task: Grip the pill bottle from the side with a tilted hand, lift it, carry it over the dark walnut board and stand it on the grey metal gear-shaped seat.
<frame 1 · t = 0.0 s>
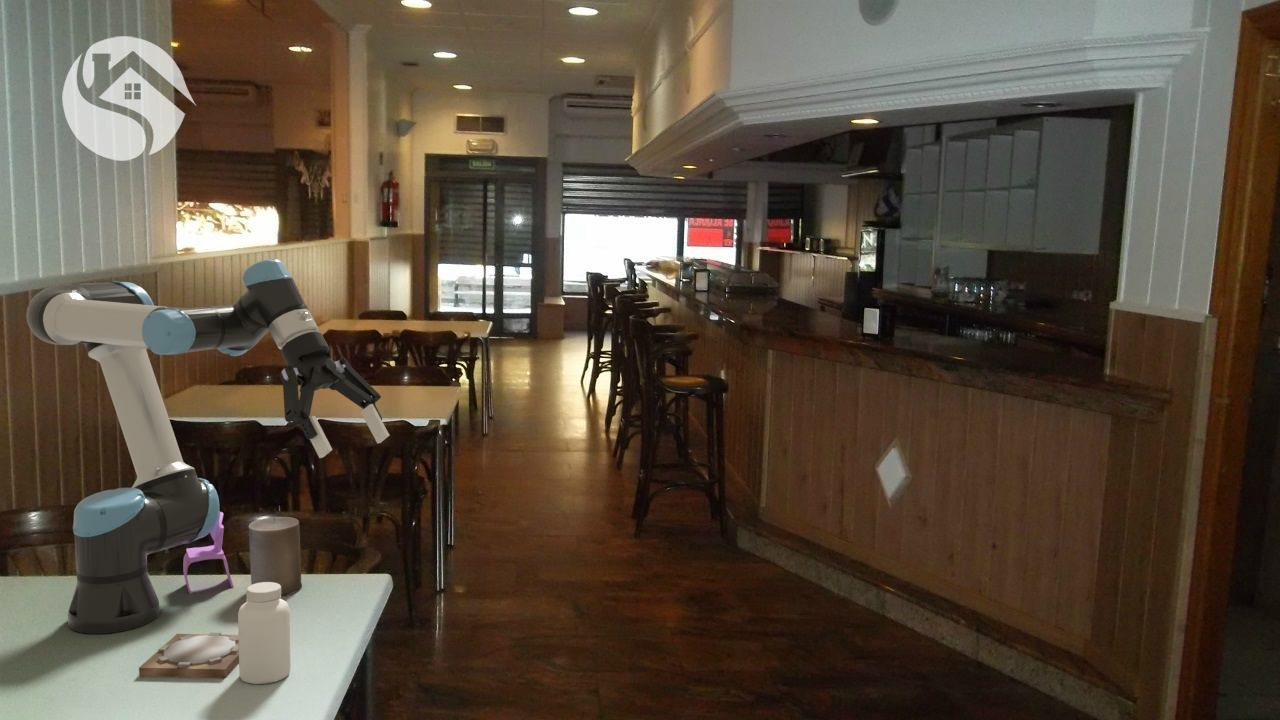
hand: (355, 446, 178), 36 cm above the table, tool tilted 35°, fingers open, 13 cm apart
toy chair: (208, 587, 211), on the table
pill bottle: (265, 676, 171), on the table
pillar candle: (276, 590, 210), on the table
gear board: (200, 659, 177), on the table
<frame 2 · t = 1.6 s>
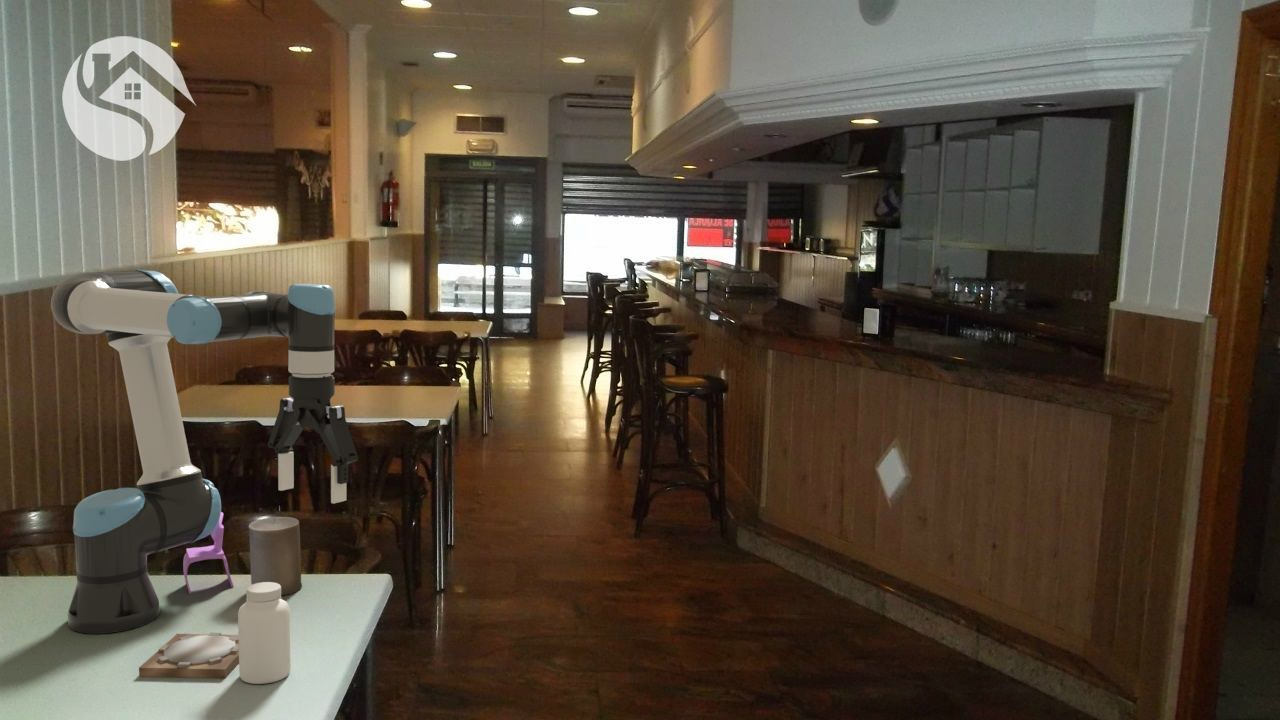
hand: (311, 495, 182), 26 cm above the table, tool pointing down, fingers open, 13 cm apart
nothing on the table moved.
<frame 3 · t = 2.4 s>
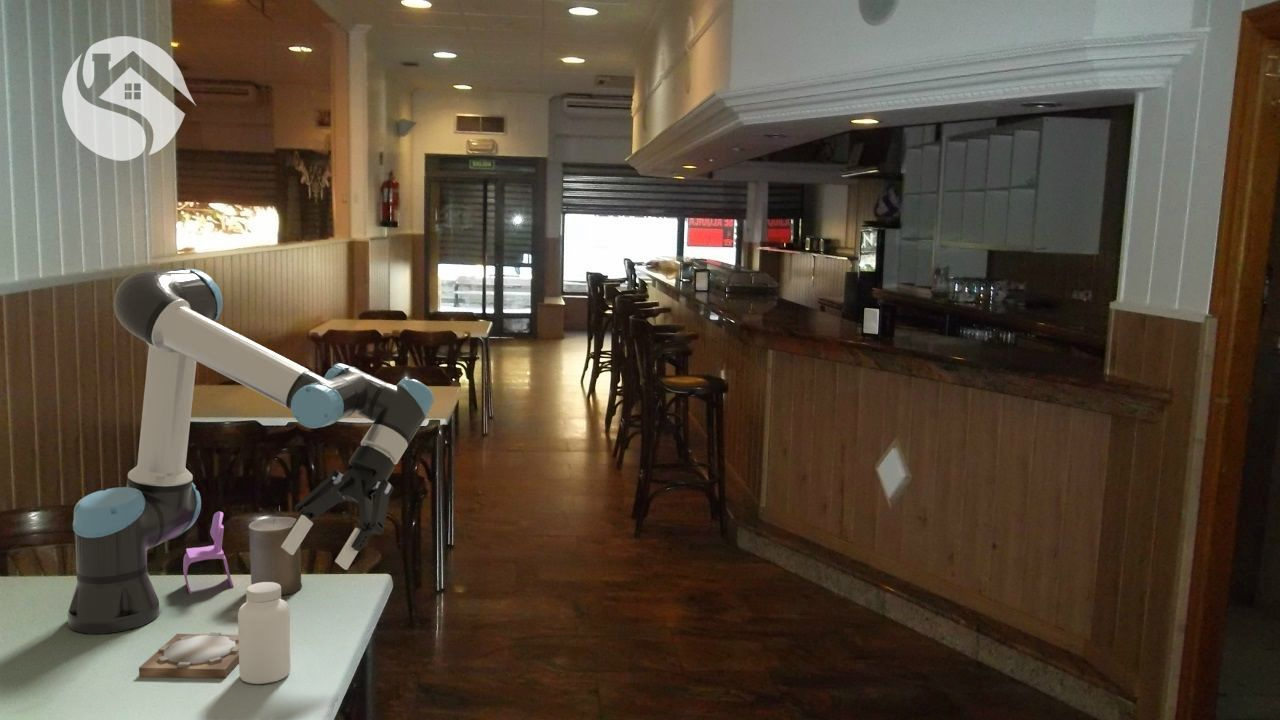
hand: (313, 558, 178), 17 cm above the table, tool tilted 45°, fingers open, 13 cm apart
nothing on the table moved.
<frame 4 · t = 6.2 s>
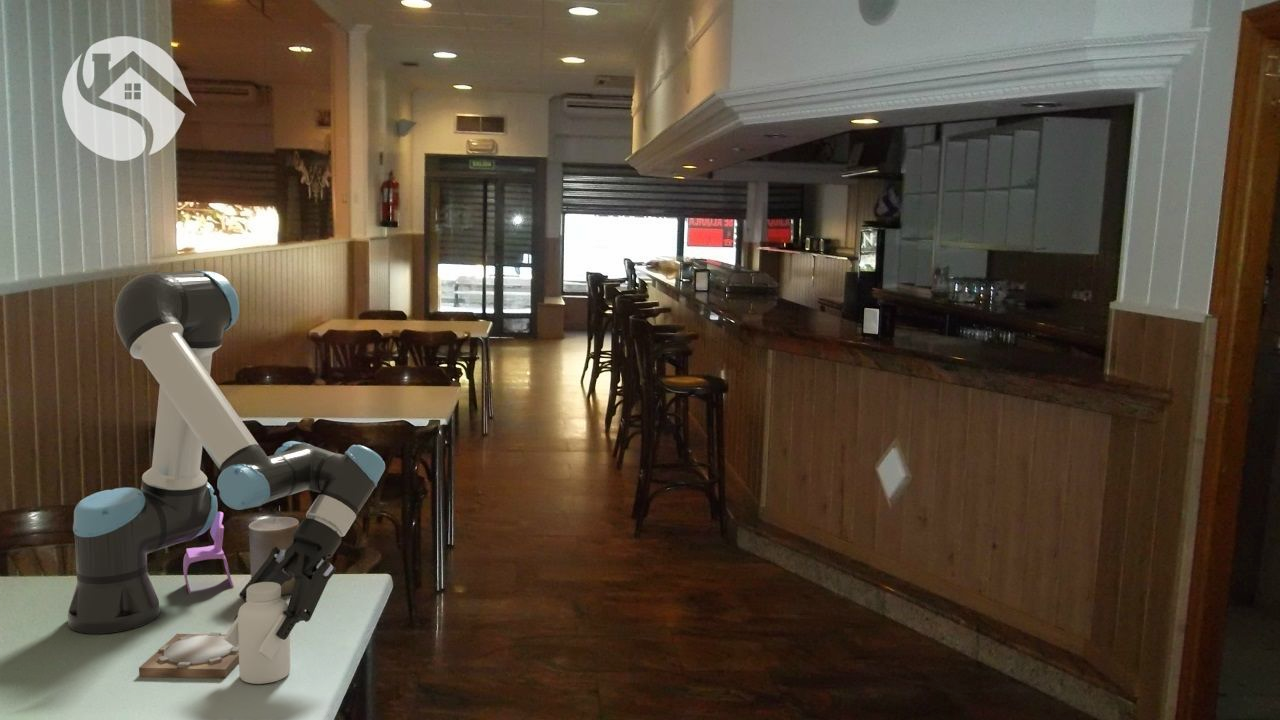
hand: (247, 649, 168), 6 cm above the table, tool tilted 45°, fingers closed on pill bottle, 8 cm apart
pill bottle: (265, 676, 171), on the table, touching gripper
everything else where it was.
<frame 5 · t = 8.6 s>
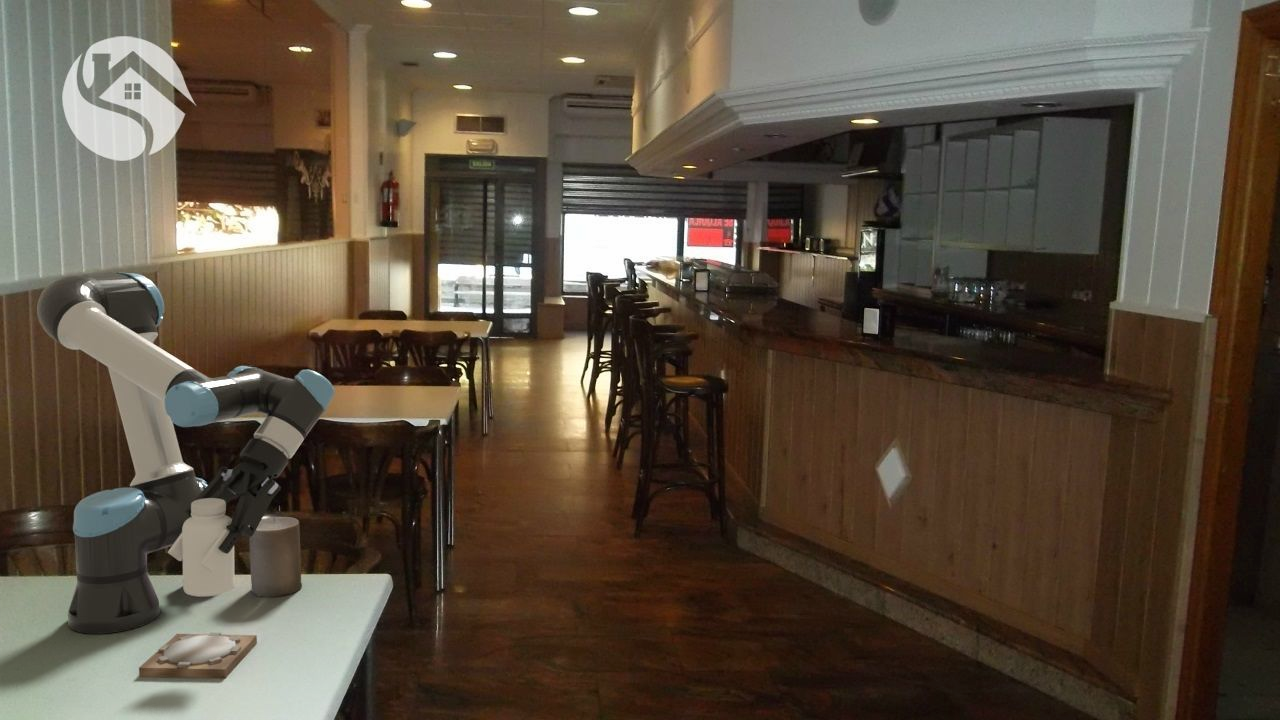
hand: (190, 562, 170), 18 cm above the table, tool tilted 45°, fingers closed on pill bottle, 8 cm apart
pill bottle: (209, 590, 174), point 13 cm above the table, touching gripper
everything else where it was.
when the fingers open (9 cm above the table, at t = 11.2 s): pill bottle stays where it is, resting on gear board.
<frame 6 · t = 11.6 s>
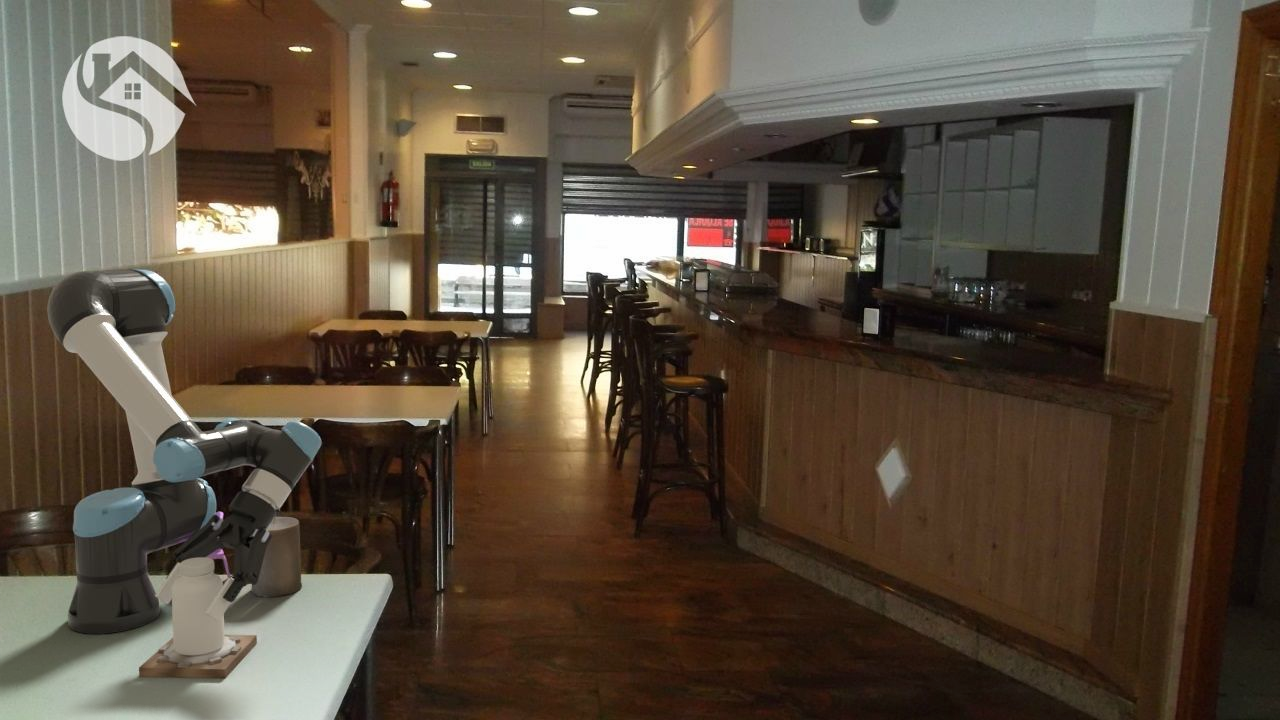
hand: (185, 608, 173), 10 cm above the table, tool tilted 45°, fingers open, 13 cm apart
pill bottle: (199, 648, 177), point 2 cm above the table, touching gear board
everything else where it was.
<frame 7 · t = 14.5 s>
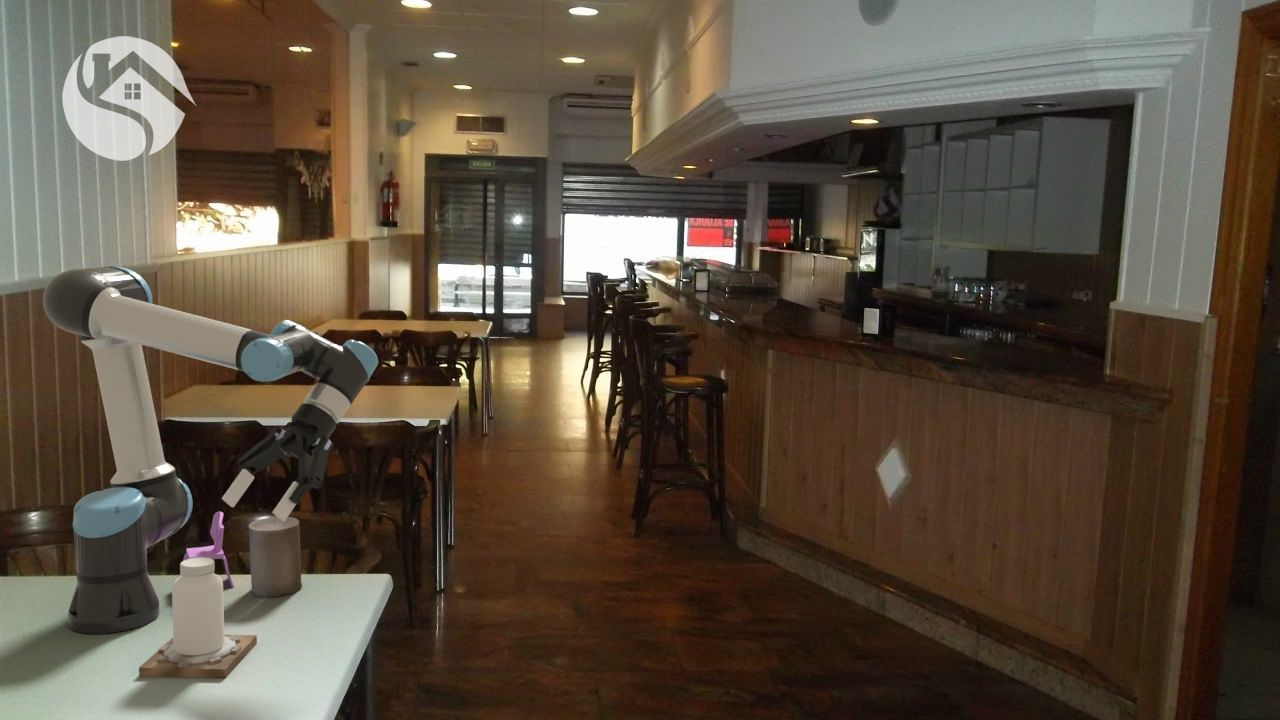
hand: (252, 510, 182), 24 cm above the table, tool tilted 45°, fingers open, 13 cm apart
nothing on the table moved.
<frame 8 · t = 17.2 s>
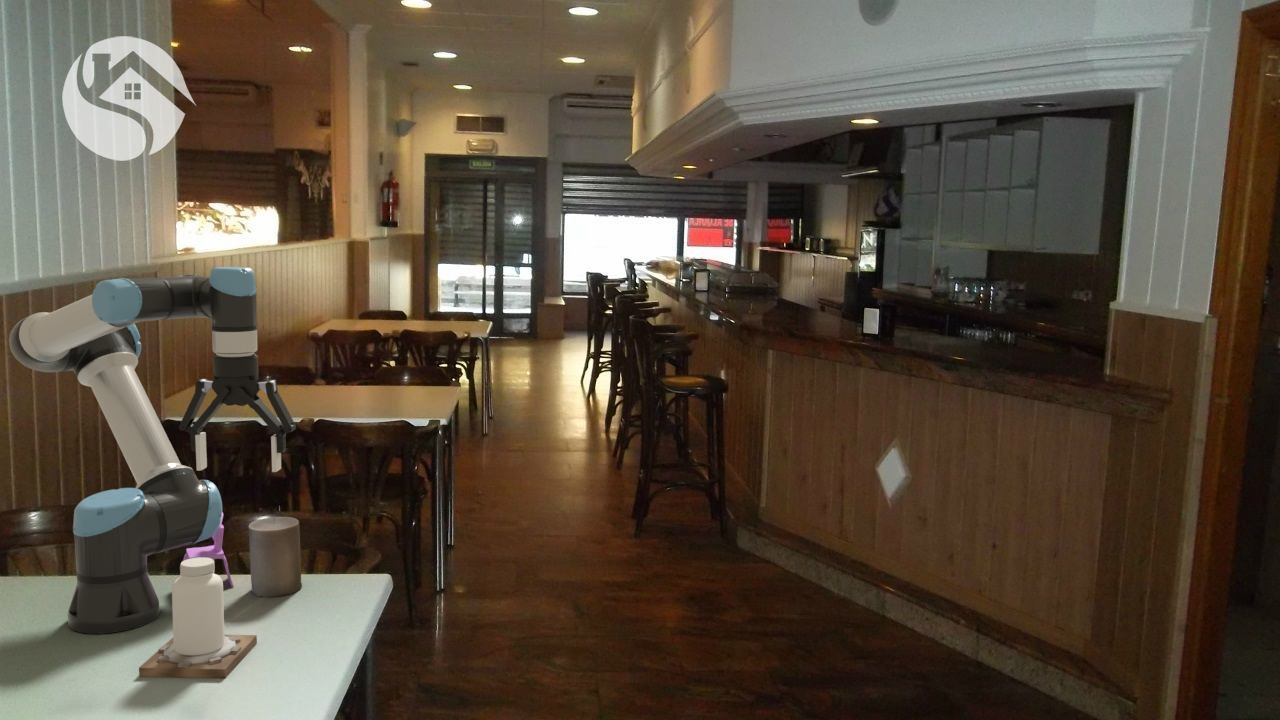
hand: (239, 469, 190), 29 cm above the table, tool pointing down, fingers open, 13 cm apart
nothing on the table moved.
at the end: pill bottle inside the target area on the gear board (0.2 cm from its centre), point 1.8 cm above the gear board's base; pill bottle tilted 0°; the gripper is holding nothing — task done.
